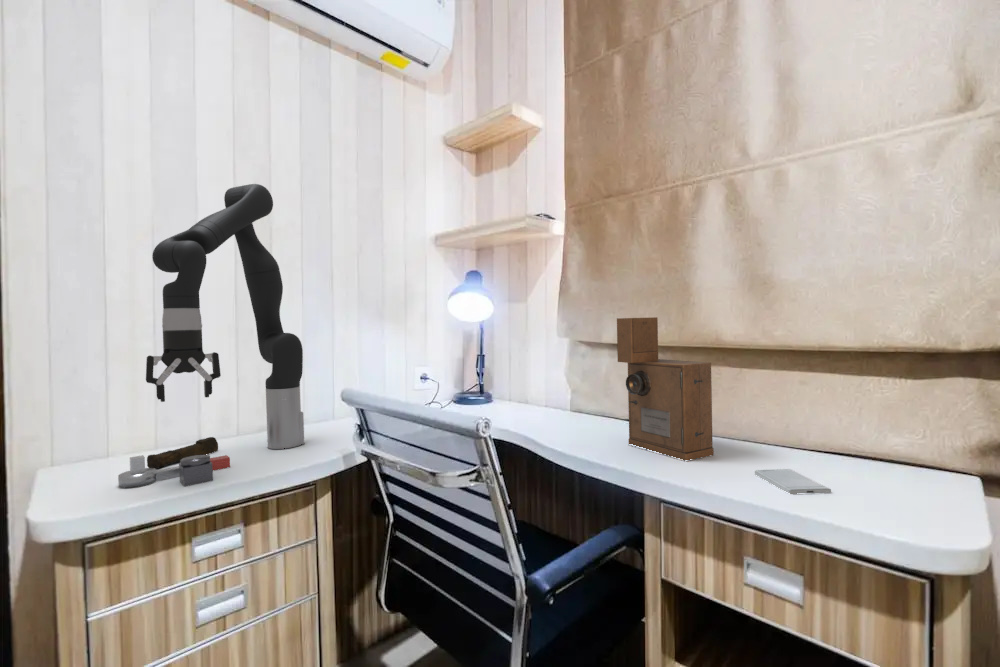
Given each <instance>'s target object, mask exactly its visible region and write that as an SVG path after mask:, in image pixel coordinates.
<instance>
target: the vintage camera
mask: <svg viewBox="0 0 1000 667" xmlns="http://www.w3.org/2000/svg"><path fill="white" fill-rule="evenodd" d="M658 320H659V318H658V317H621V318H616V338H617V339H616V340H617V341H616V342H617V343H616V344H617V346H616V347H617V350H616V351H617V352H616V353H617V363H625V364H627V376H626V379H625V386H626V390H627V393H628V395H627V396H628V399H627V401H628V402H627V404H628V436H629V437H628V445H629V444H633V445H636V446H639V447H643V448H646V449H649V450H652V451H656V452H659V453H662V454H666V455H669V456H673V457H676V458H680V459H683V460H690V459H695V460H697V459H696V458H699V459H702V458H701V457H703V458H707V457H711V456H710V455H712V456H714V454H715V453H714V452H715V451H714V446H713V410H712V409H713V405H712V404H713V398H712V397H713V394H712V362H710V361H709V362H706V361H695V360H694V361H691V360H690V361H689V360H680V359H679V360H678V359H677V360H676V359H662V358H659V335H658V334H659V328H658V327H659V326H658ZM706 456H707V457H706ZM690 461H691V460H690Z"/></svg>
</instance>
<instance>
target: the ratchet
mask: <svg viewBox="0 0 1000 667" xmlns="http://www.w3.org/2000/svg"><path fill="white" fill-rule="evenodd" d="M145 458H146V457H145V456H144V454H143V455H137V456H130V457H129V470H128V471H127V470H126V471H123V472H122V473H120V474H118V475H117V476H118V488H119V489H125V490H126V489H136V488H137V489H138V488H141V487H145V486H149V485H152V484H154V483H156V482H158V481H165V480H169V479H174V478H179V465H177V466H173V467H167V468H160V469H155V468H149V467H146V463H145V462H146V461H145V460H146V459H145ZM210 462H212V467H213V470H214V471H218V469H219V470H222V469H223V468H224V469H228V468H227V467H229V468H231V457H230V456H229V455H227V454H225V455H220V456H213V457H210ZM224 469H223V470H224Z"/></svg>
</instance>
